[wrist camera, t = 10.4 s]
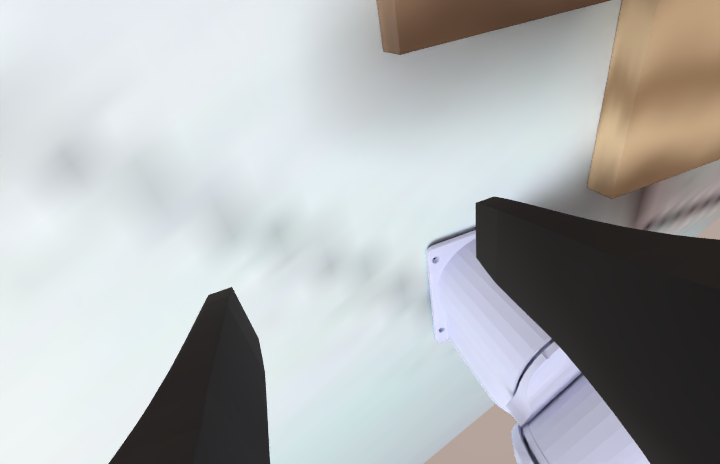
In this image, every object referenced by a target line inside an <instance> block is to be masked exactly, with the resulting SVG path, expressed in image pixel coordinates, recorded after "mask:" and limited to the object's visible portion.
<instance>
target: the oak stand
mask: <svg viewBox="0 0 720 464" xmlns="http://www.w3.org/2000/svg"><path fill="white" fill-rule="evenodd" d="M718 159H720V0H622V5H621V10H620V15H619V21H618V26H617V31H616V37H615V42H614V47H613V52H612V58H611V63H610V68H609V74H608V79H607V84H606V90H605V95H604V100H603V105H602V111H601V116H600V121H599V127H598V132H597V137H596V142H595V148H594V153H593V158H592V164H591V169H590V174H589V179H588V185H587V188H589V189H591V190H593V191H595V192H598V193H600V194H602V195H604V196H606V197H608V198H611V199H613V198H615V197H618V196H621V195H623V194H626V193H629V192H632V191H634V190H637V189H640V188H642V187H645V186H648V185H651V184H653V183H656V182H659V181H661V180H664V179H667V178H670V177H672V176H675V175H678V174H680V173H683V172H686V171H689V170H691V169H694V168H697V167H699V166H702V165H705V164H708V163H710V162H713V161H716V160H718Z"/></svg>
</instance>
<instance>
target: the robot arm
mask: <svg viewBox="0 0 720 464" xmlns="http://www.w3.org/2000/svg"><path fill="white" fill-rule="evenodd" d="M435 257H436V258H435ZM426 258H427V268H428V278H429V287H430V297H431V307H432V317H433V326H434V336H435V339H436V341H437V342H438V343H442V342H444V341H447V340H450V341H451V343H452V344H453V345H454V347H455V348H456V350H457V351H458V353H459V354H460V355H461V357H462V358H463V360H464V361H465V363H466V364H467V365H468V367H469V368H470V370H471V371H472V373H473V374H474V375H475V377H476V378H477V380H478V381H479V383H480V384H481V385H482V387H483V388H484V390H485V391H486V393H487V394H488V395H489V397H490V398H491V399H492V400H493V401H494V403H496V404H497V405H498V406H499V407H500V408H502V409H503V410H504V411H506V412H508V413H510V414H512V416H513V417H514V418H515V420H516V421H517V422H518V423H517V424H516V425H515V426H514V427H513V429H512V432H511V436H512V443H513V447H514V454H515V458H516V461H517V463H518V464H720V240H716V239H706V238H695V237H687V236H679V235H671V234H665V233H658V232H651V231H645V230H638V229H633V228H627V227H622V226H617V225H612V224H608V223H603V222H598V221H593V220H589V219H585V218H580V217H576V216H572V215H568V214H564V213H560V212H556V211H552V210H549V209H545V208H541V207H537V206H533V205H529V204H525V203H521V202H517V201H513V200H509V199H504V198H499V197H492V198H489V199H486V200H483V201H480V202H477V203H476V230H474V231H471V232H469V233H466V234H463V235H460V236H457V237H455V238H452V239H449V240H446V241H443V242H441V243H438V244H435V245H432V246H430V247H429V248H428V249H427V251H426ZM433 258H435V259H434V260H433ZM109 464H270V456H269V437H268V419H267V400H266V383H265V371H264V365H263V359H262V354H261V349H260V344H259V338H258V337H257V335H256V333H255V331H254V329H253V327H252V325H251V323H250V321H249V319H248V317H247V315H246V313H245V311H244V310H243V308H242V306H241V304H240V302H239V300H238V298H237V296H236V294H235V292H234V290H233V288H232V287H231V288H228V289H225V290H222V291H219V292H216V293H213V294H210V295H208V297H207V299H206V301H205V303H204V305H203V307H202V309H201V311H200V313H199V315H198V317H197V319H196V321H195V323H194V325H193V327H192V329H191V331H190V333H189V335H188V337H187V338H186V340H185V342H184V344H183V346H182V348H181V350H180V352H179V354H178V355H177V357H176V359H175V361H174V363H173V365H172V367H171V368H170V370H169V372H168V374H167V375H166V377H165V379H164V381H163V382H162V384H161V386H160V387H159V389H158V391H157V392H156V394H155V396H154V397H153V399H152V401H151V402H150V404H149V406H148V407H147V409H146V410H145V412H144V414H143V415H142V417H141V418H140V420H139V421H138V423H137V424H136V426H135V427H134V429H133V430H132V431H131V433H130V434H129V436H128V437H127V439H126V440H125V441H124V443H123V444H122V446H121V447H120V449H119V450H118V451H117V453H116V454H115V456H114V457H113V458H112V460H111V461H110V462H109Z"/></svg>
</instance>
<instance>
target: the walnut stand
mask: <svg viewBox="0 0 720 464" xmlns="http://www.w3.org/2000/svg"><path fill="white" fill-rule="evenodd" d="M606 1H610V0H377V7H378V15H379V22H380V30H381V37H382V45H383V51H384V52H389V53H394V54H399V55H401V54H405V53H409V52H412V51H416V50H420V49H424V48H428V47H432V46H436V45H440V44H443V43H447V42H451V41H455V40H459V39H463V38H467V37H470V36H474V35H478V34H482V33H486V32H490V31H494V30H498V29H501V28H505V27H509V26H513V25H517V24H521V23H525V22H528V21H532V20H536V19H540V18H544V17H548V16H552V15H556V14H559V13H563V12H567V11H571V10H575V9H579V8H583V7H586V6H590V5H594V4H598V3H602V2H606Z"/></svg>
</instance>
